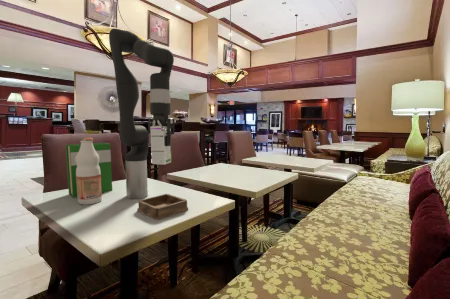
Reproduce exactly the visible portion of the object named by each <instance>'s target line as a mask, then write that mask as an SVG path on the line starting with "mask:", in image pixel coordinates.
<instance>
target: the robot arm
mask: <svg viewBox="0 0 450 299" xmlns="http://www.w3.org/2000/svg"><path fill="white" fill-rule="evenodd" d="M108 42H109V47H110V52H111V57H112V62H113V68H114V77H115V87H116V94H117V95H116V96H117V101H118V111H119V135H120V139H121V140H120V141H121V142H122V144H123V145H125V146H127V147H131V149H130V151H128V152H127V153H126V154H125V160H124V161H125V183H126V184H125V185H126V198H127V199H132V200H137V199H139V200H140V199H145V198H147V197H148V192H149V191H148V168H147V167H148V165H147V164H148V163H147V162H148V161H147V160H148V159H147V157H148V154H149V134H151V129H150V127H151V126H161V127H162V128H161V131H164V135H165V136H164V145H165V146H170V144H171V145H172V136H173V135H175V118H174V117H169V115H170V116H171V114H172V112H171V105H172V104H171V91H170V78H171V74H172V69H173V66H174V60H175V56H174V54H173V52H172V51H171V50H170V49H168V48H165V47H162V46H161V47H160V46H156V45H154V44H153V43H151V42H148V41H147V40H142V39H141V38H140V37H139V36H138V35H136V34H135V33H134V32H131V31H129V30H125V29H121V28H111V29H110V31H109V34H108ZM123 53H124V54H125V53H126V54H135V56H136V57H137V58H138V59H141V60H142V61H144V63H145V64H146V65H148V66H151V67H156V68H160V71H159V72H154V73H151V75H150V76H149V85H150V86H149V88H150V91H149V113H150V114H149V115H152V116H153V117H152V118H151V117H149V118H148V119H147V123H148V124H147V126H148V127H147V128H148V130H147V128H146V127H145V126H143V125H140V124H139V125H138V124H137V125H136V124H135V120H134V119H135V116H134V114H135V109H136V107H137V104H138V101H139V98H140V92H139V83H138V79H137V78H136V76H135V74H134V73H133V71H131V69H130V67H129V66H128V64H127V63H126V61H125V59H124V55H123ZM163 126H166V127H167V128H164V127H163ZM170 129H171V131H170ZM166 131H167V132H166Z"/></svg>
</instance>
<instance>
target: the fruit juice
mask: <svg viewBox="0 0 450 299" xmlns="http://www.w3.org/2000/svg"><path fill="white" fill-rule="evenodd" d="M79 142H80V144H81V146H80V150H79V152H78V154H77V155H76V158H75V160H76V163H77V168H76V183H77V197H76V198H77V203H78V204H79V205H94V204H97V203H99V202H101V201H102V200H103V192H102V190H101V171H100V167H99V159H100V158H99V155H98V153H97V152H96V151H95V149H94V146H93V142H94V138H93V137H81V138H79Z"/></svg>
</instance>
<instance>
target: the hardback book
mask: <svg viewBox="0 0 450 299" xmlns="http://www.w3.org/2000/svg"><path fill="white" fill-rule="evenodd" d="M92 143H93V142H92ZM80 146H81V143H79V144H78V143H77V144H65V154H66V155H65V158H66V172H67V174H66V175H67V184H68V185H67V186H68V196H71V195H72V198H73V199H74V198H75V199H76V198H77V183H76V168H77V163H76V160H75V158H76V155H77V154H78V152H79V150H80ZM93 146H94V149H95V151H96V152H97V153H98V155H99V158H100V159H99V167H100V171H101V190H102V193H108V192H113V177H112V175H113V174H112V173H113V172H112V154H111V143H108V142H96V143H93Z"/></svg>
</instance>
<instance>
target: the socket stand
mask: <svg viewBox="0 0 450 299" xmlns="http://www.w3.org/2000/svg"><path fill="white" fill-rule="evenodd" d="M137 203H138V204H137V205H138V208H137V212H138V213H139V212H140V213H142V214H143V215H146V216H148V217H150V218H152V219H155V220H157V221H159V220H162V219H165V218H169V217H171V216H174V215H177V214H180V213H183V212H186V211H189V207H188V200H187V198H186V199H185V198H183V197H179V196H176V195H174V194H173V195H172V194H170V193H163V194H159V195H156V196H152V197H148V198H147V197H146V198H142V199H139V200H138V202H137Z"/></svg>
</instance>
